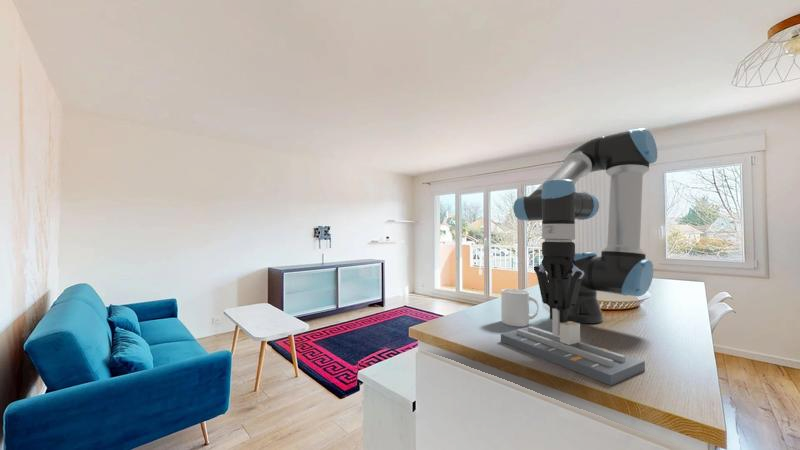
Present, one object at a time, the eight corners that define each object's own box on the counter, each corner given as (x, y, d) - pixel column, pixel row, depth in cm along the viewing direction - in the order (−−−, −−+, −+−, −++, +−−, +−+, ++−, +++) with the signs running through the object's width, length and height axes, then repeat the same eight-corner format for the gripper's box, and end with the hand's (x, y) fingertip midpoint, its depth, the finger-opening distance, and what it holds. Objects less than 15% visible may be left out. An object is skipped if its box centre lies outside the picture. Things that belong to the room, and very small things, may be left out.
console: (533, 333, 92) (533, 322, 92) (644, 370, 68) (644, 355, 68) (500, 341, 85) (500, 329, 85) (610, 385, 61) (610, 369, 61)
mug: (544, 327, 98) (543, 293, 98) (505, 327, 98) (505, 293, 98) (533, 320, 106) (533, 289, 107) (498, 319, 107) (498, 288, 107)
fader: (570, 343, 77) (570, 320, 77) (580, 346, 75) (580, 323, 75) (559, 346, 75) (559, 323, 75) (569, 350, 73) (569, 325, 73)
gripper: (526, 240, 82) (526, 329, 82) (574, 241, 71) (574, 345, 70) (544, 240, 86) (545, 325, 85) (592, 241, 74) (593, 340, 74)
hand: (558, 334), depth 78 cm, fingers closed
